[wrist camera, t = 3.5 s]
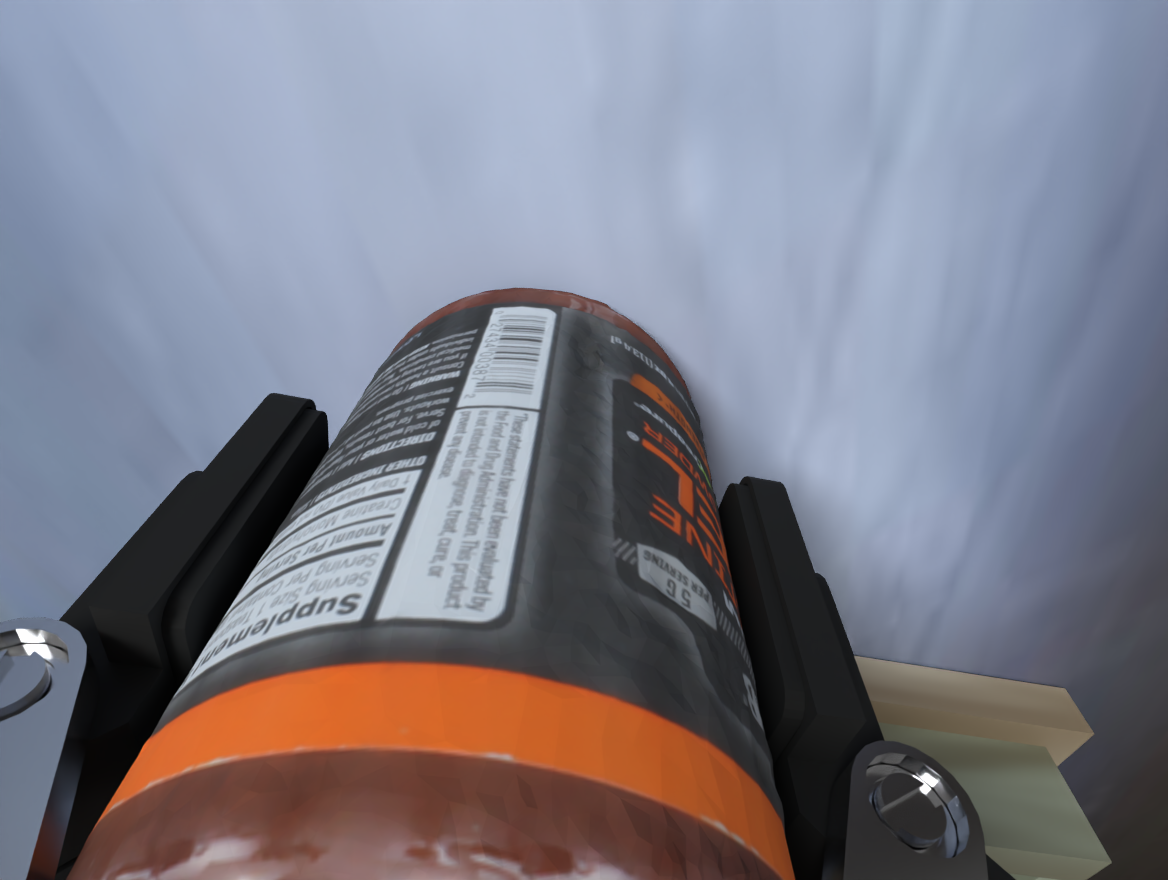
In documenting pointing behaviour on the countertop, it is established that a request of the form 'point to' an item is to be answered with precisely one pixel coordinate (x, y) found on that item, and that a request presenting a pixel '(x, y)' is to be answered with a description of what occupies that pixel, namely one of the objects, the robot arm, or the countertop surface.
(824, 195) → the countertop surface
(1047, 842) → the socket board
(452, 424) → the supplement bottle
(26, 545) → the countertop surface
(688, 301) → the countertop surface
